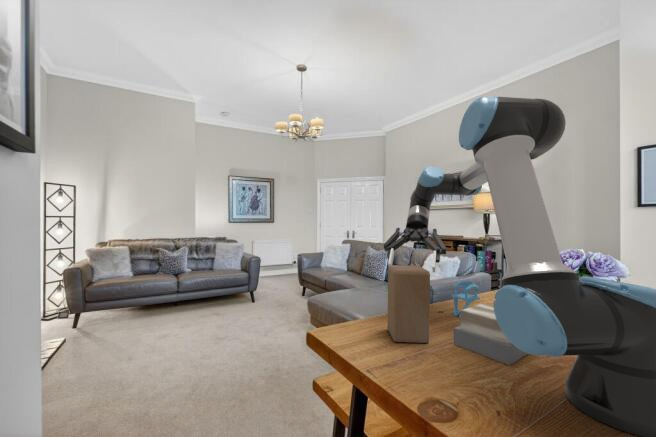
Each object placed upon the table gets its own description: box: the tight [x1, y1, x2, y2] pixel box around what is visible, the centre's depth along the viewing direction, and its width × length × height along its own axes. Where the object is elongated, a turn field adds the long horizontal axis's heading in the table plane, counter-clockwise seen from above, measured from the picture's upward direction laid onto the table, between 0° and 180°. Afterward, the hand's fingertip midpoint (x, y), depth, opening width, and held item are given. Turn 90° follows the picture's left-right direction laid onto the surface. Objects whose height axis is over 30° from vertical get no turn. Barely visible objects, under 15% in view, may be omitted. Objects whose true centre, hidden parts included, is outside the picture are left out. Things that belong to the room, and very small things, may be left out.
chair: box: [451, 281, 481, 319], centre depth 104 cm, size 8×8×12 cm
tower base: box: [453, 325, 529, 366], centre depth 78 cm, size 14×14×5 cm
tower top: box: [460, 303, 511, 344], centre depth 78 cm, size 12×12×5 cm
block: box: [386, 264, 431, 344], centre depth 84 cm, size 10×10×20 cm
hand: (411, 267), depth 92 cm, fingers open, 13 cm apart
